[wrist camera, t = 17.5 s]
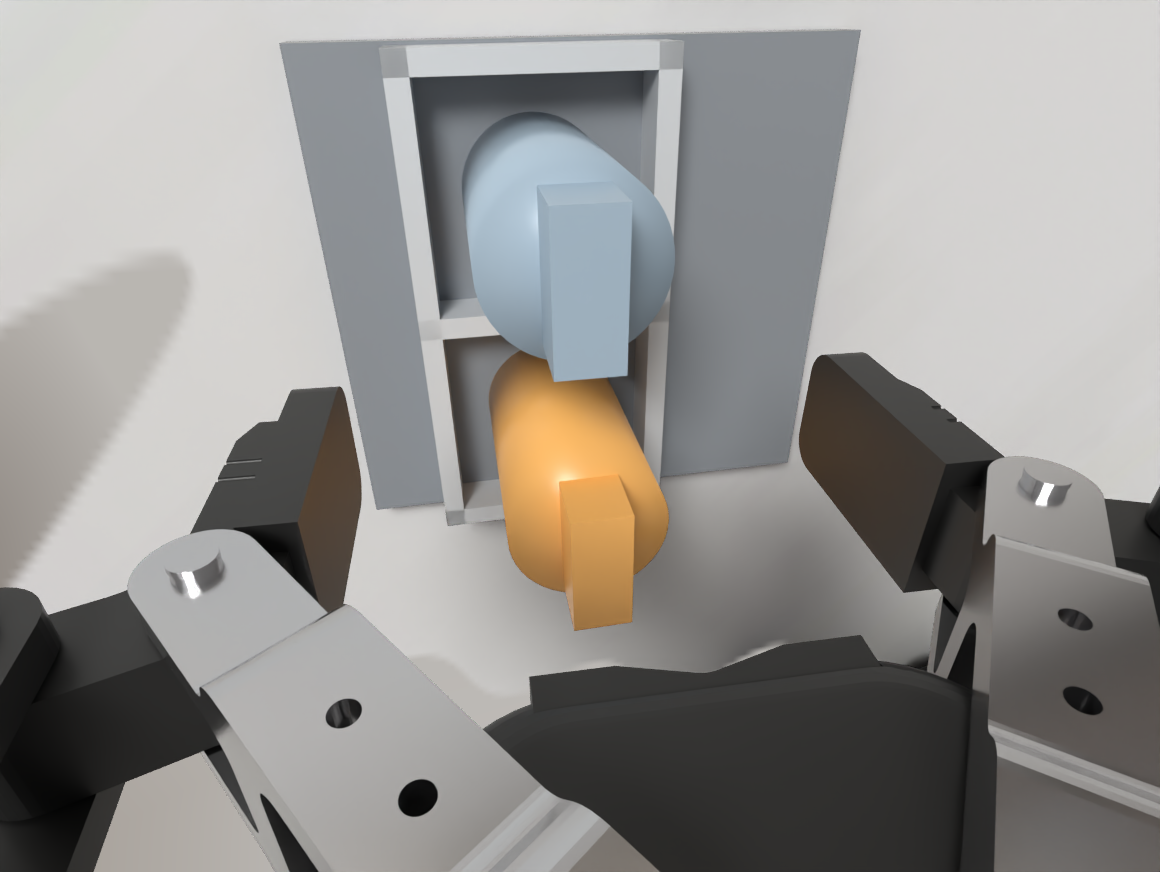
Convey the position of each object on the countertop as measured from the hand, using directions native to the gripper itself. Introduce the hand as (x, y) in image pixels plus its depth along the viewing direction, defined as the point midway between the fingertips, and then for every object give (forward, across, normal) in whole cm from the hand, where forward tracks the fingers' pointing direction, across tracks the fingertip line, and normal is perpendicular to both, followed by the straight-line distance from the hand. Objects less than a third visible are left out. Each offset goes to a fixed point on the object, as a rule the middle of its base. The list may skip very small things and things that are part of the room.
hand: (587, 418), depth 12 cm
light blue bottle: (+10, 0, -2) cm, 10 cm away
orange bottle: (+10, 0, +5) cm, 11 cm away
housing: (+11, -2, +2) cm, 11 cm away
